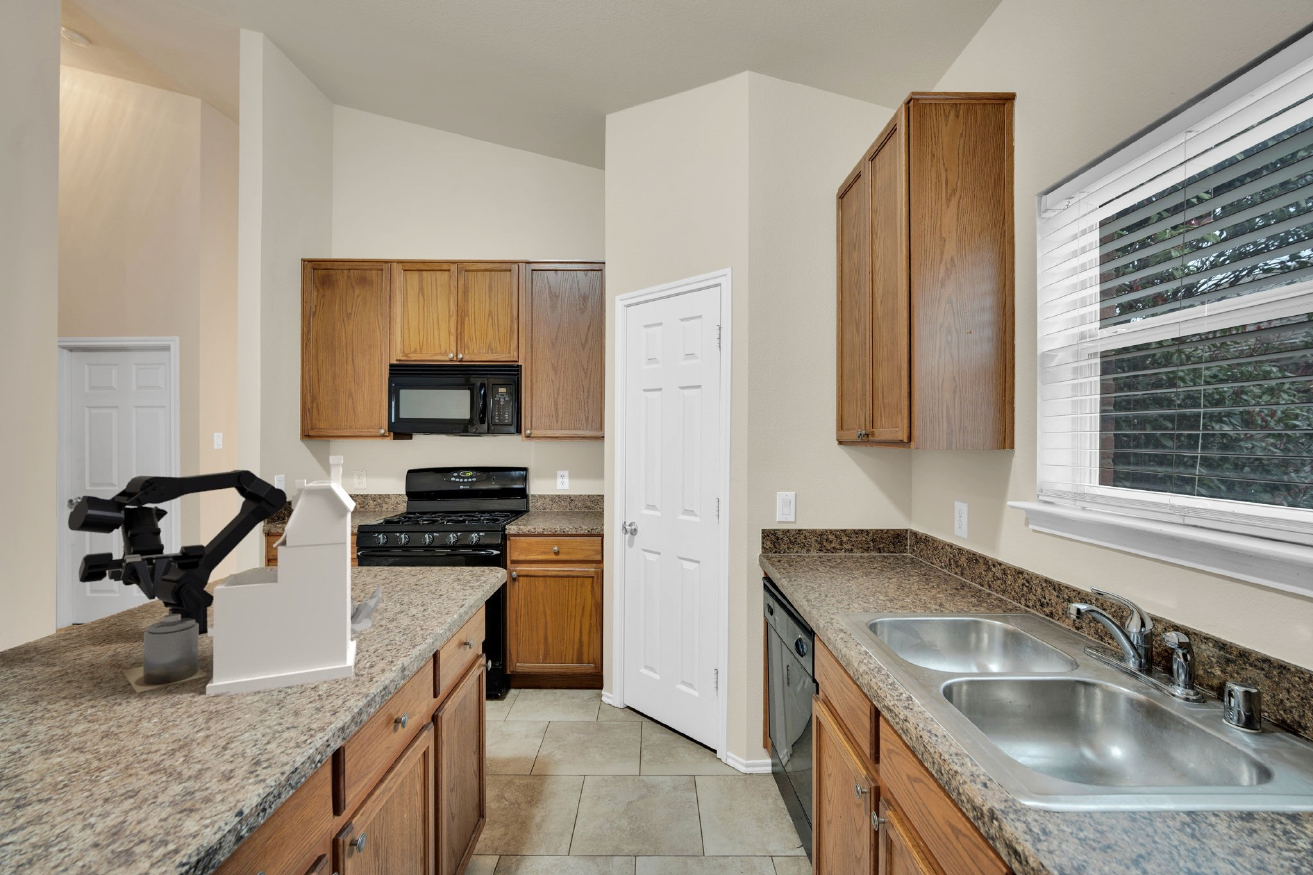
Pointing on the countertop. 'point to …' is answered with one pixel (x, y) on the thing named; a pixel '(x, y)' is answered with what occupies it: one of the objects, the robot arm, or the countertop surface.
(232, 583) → the dollhouse
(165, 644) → the grey lidded jar
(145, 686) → the tan rectangular board
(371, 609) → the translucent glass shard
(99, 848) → the countertop surface
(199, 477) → the robot arm
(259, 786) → the countertop surface
